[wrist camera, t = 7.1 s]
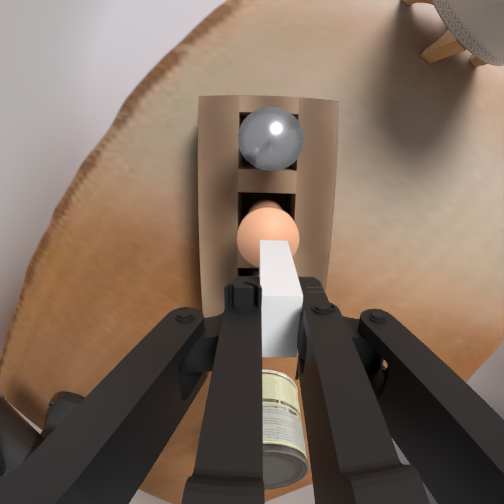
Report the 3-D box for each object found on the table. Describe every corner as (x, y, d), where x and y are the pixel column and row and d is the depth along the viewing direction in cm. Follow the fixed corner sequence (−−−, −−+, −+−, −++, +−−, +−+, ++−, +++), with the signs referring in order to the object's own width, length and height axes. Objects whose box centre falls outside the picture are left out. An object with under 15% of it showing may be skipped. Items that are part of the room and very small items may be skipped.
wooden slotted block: (211, 298, 36) (203, 325, 31) (209, 105, 29) (198, 96, 24) (311, 300, 36) (320, 327, 31) (324, 109, 29) (338, 101, 23)
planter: (488, 37, 24) (574, 13, 7) (461, 95, 27) (566, 85, 11) (418, -27, 22) (488, -84, 5) (382, 25, 25) (464, -41, 8)
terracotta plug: (241, 239, 29) (236, 268, 22) (242, 193, 28) (237, 208, 21) (288, 240, 29) (297, 269, 22) (290, 194, 28) (301, 209, 21)
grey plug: (242, 164, 27) (237, 170, 20) (243, 117, 26) (238, 106, 19) (291, 166, 27) (303, 172, 20) (292, 118, 26) (304, 108, 19)
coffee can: (286, 418, 44) (292, 492, 30) (222, 409, 43) (213, 484, 30) (307, 373, 40) (322, 454, 27) (234, 362, 40) (226, 445, 26)
